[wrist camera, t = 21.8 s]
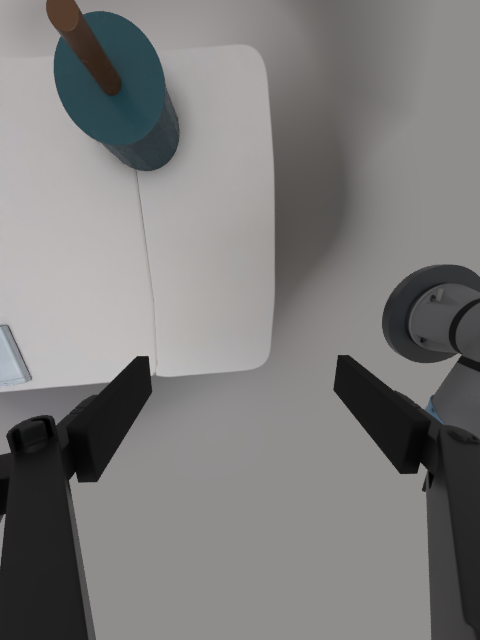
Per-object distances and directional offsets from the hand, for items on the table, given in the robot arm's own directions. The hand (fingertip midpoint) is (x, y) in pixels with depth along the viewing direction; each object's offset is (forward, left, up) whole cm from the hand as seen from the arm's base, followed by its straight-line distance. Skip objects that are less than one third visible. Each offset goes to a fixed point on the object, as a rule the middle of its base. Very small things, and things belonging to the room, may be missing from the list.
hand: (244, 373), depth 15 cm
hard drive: (+49, +12, -31) cm, 59 cm away
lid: (+16, -29, -21) cm, 39 cm away
